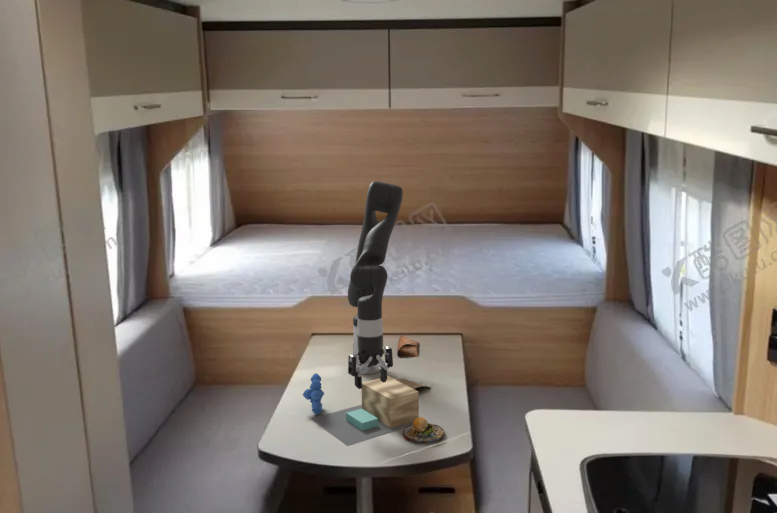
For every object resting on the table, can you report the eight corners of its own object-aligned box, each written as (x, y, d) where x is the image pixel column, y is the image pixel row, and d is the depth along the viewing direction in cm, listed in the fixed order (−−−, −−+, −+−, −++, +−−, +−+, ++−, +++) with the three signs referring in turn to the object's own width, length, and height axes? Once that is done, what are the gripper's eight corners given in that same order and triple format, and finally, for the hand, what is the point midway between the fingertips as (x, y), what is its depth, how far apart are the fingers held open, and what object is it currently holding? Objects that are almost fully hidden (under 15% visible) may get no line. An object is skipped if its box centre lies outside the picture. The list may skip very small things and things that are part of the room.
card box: (361, 408, 210) (361, 416, 211) (346, 412, 207) (346, 420, 208) (378, 418, 203) (378, 426, 203) (362, 423, 200) (362, 431, 200)
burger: (450, 443, 193) (450, 418, 192) (410, 449, 190) (410, 424, 189) (435, 425, 205) (435, 402, 203) (397, 431, 201) (397, 407, 200)
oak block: (362, 410, 215) (361, 383, 213) (388, 403, 220) (388, 376, 219) (391, 428, 202) (390, 399, 200) (418, 420, 207) (418, 391, 206)
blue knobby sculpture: (303, 405, 220) (301, 369, 218) (324, 404, 221) (323, 368, 219) (302, 420, 209) (301, 382, 207) (325, 419, 210) (324, 381, 207)
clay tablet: (402, 403, 222) (402, 394, 221) (376, 394, 229) (376, 386, 229) (434, 389, 234) (434, 380, 233) (408, 381, 241) (408, 373, 241)
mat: (310, 419, 209) (310, 418, 209) (381, 399, 224) (381, 399, 224) (347, 446, 192) (347, 445, 191) (422, 423, 206) (422, 422, 206)
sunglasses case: (419, 357, 264) (410, 342, 263) (403, 366, 265) (394, 351, 264) (419, 342, 282) (411, 328, 281) (404, 350, 283) (396, 337, 282)
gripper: (383, 325, 209) (384, 376, 212) (342, 333, 202) (344, 386, 205) (397, 330, 203) (398, 383, 206) (356, 339, 195) (357, 394, 198)
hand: (371, 384), depth 205 cm, fingers open, 8 cm apart
